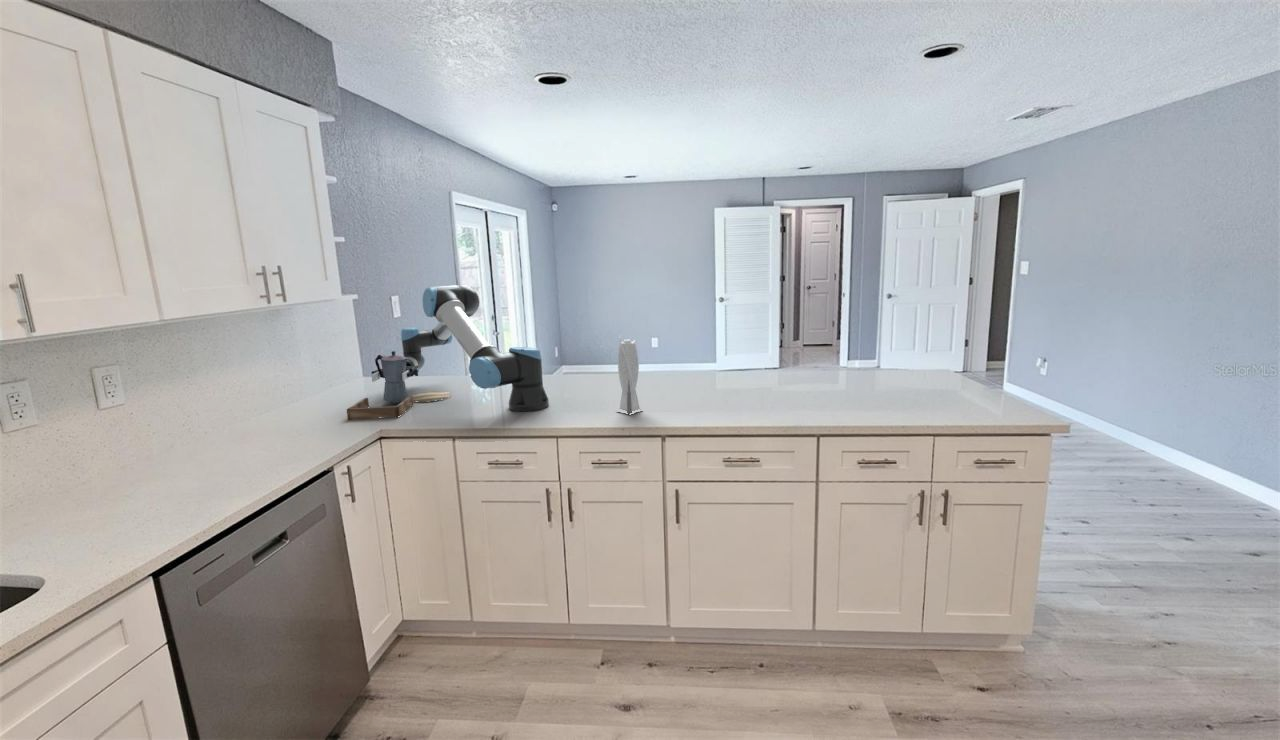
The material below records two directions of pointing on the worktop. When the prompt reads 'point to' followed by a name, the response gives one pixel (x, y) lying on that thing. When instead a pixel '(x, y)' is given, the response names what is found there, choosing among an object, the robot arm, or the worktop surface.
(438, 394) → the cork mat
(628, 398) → the skyscraper
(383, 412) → the frame
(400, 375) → the moka pot
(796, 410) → the worktop surface
